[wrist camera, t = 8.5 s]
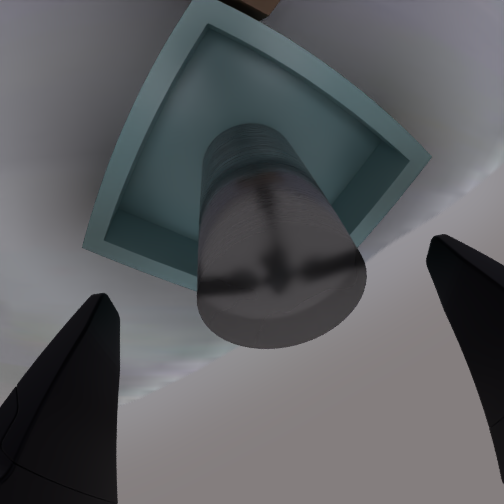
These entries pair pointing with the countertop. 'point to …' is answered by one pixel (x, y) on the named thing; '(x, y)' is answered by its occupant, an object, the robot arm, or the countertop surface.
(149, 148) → the tray
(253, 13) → the block
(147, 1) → the countertop surface
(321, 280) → the translucent grey cylinder
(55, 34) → the countertop surface
